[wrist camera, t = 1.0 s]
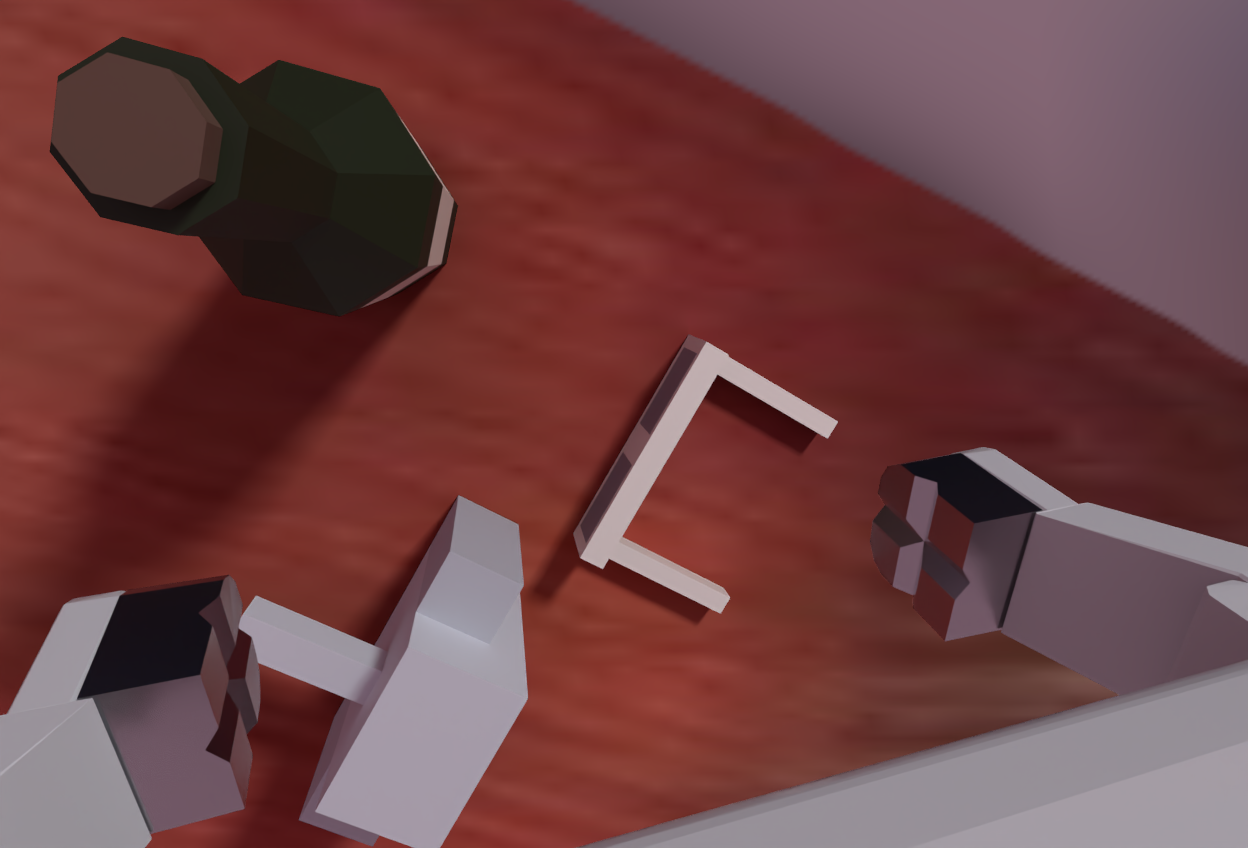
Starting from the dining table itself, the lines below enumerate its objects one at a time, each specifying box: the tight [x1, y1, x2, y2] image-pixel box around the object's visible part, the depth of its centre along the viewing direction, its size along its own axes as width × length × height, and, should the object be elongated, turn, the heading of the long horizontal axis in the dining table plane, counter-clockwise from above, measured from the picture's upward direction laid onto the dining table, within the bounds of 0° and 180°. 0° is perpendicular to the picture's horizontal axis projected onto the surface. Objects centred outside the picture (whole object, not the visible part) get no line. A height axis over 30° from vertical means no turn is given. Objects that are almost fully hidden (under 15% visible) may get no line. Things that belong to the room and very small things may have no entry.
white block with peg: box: [239, 495, 528, 848], centre depth 41 cm, size 13×16×12 cm
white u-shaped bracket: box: [573, 335, 838, 614], centre depth 46 cm, size 10×14×4 cm
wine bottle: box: [50, 37, 458, 316], centre depth 28 cm, size 8×8×30 cm
